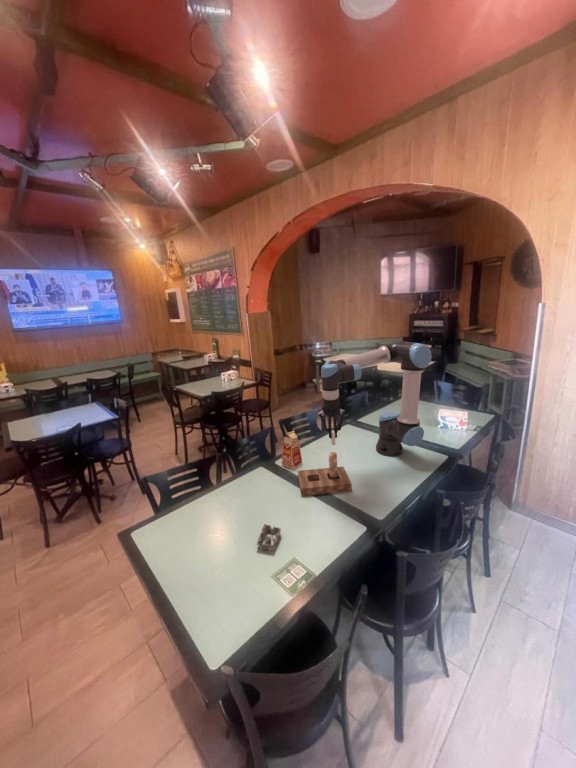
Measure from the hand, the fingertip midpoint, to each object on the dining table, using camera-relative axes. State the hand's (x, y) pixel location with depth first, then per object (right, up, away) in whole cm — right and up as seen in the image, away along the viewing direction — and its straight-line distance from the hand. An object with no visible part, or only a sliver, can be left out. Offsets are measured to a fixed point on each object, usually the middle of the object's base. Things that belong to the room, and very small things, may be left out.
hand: (333, 443), depth 150 cm
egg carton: (-29, -33, -29) cm, 52 cm away
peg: (+1, -21, +5) cm, 21 cm away
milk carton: (-19, -17, +27) cm, 37 cm away
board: (-4, -21, +5) cm, 22 cm away
